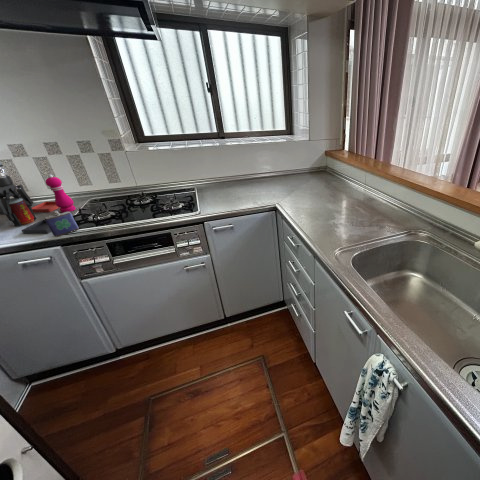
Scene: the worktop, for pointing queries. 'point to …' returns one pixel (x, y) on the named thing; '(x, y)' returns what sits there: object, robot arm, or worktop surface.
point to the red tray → (45, 207)
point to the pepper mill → (60, 194)
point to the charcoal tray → (37, 228)
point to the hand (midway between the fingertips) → (26, 222)
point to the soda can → (21, 211)
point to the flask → (61, 223)
